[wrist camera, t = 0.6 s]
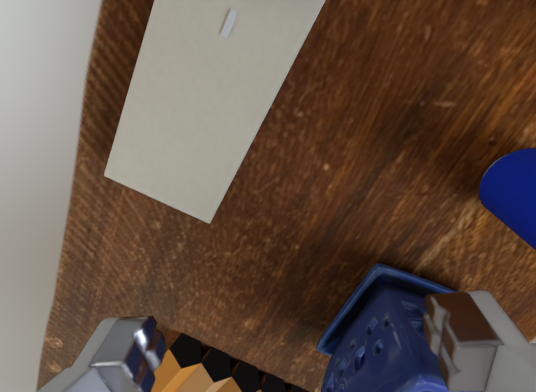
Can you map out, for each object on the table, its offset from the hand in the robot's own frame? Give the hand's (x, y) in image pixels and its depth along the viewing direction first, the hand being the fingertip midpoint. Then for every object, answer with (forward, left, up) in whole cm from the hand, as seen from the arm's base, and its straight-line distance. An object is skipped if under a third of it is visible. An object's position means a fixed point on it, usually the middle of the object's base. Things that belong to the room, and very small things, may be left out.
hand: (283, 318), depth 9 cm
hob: (-6, -4, -15) cm, 17 cm away
